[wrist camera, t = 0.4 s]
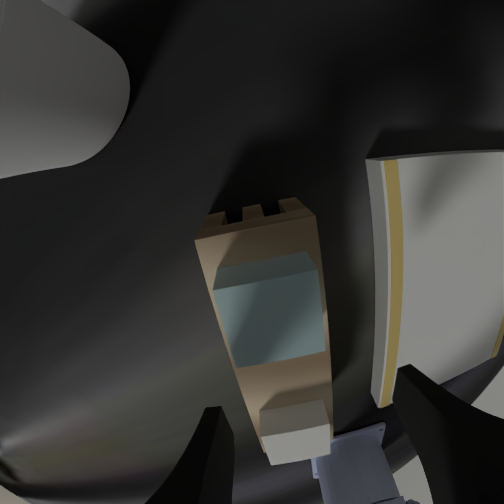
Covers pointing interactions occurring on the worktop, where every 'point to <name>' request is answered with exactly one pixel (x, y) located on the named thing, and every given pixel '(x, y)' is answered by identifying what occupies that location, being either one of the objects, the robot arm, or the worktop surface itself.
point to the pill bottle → (55, 89)
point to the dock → (436, 263)
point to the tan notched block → (259, 248)
